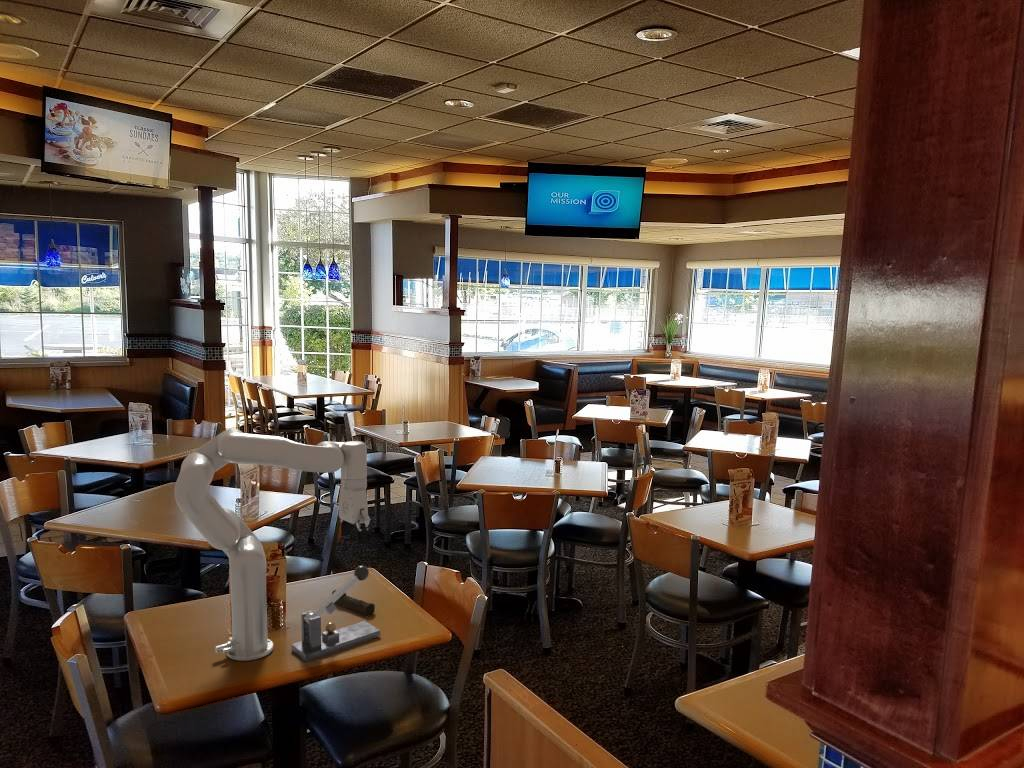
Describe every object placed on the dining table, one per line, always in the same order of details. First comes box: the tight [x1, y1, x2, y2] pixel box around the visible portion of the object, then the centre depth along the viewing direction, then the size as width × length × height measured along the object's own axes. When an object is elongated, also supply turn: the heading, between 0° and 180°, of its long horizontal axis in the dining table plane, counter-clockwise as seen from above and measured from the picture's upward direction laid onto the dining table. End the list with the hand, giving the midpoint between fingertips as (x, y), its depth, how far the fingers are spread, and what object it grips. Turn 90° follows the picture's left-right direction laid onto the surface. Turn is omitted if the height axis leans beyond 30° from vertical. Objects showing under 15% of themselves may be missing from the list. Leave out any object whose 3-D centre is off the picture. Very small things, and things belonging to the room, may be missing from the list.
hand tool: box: [331, 589, 376, 617], centre depth 240 cm, size 19×4×5 cm, turn 52°
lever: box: [304, 565, 370, 624], centre depth 214 cm, size 23×4×5 cm, turn 133°
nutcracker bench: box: [291, 610, 381, 663], centre depth 214 cm, size 24×9×11 cm, turn 132°
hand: (353, 539), depth 219 cm, fingers open, 9 cm apart
